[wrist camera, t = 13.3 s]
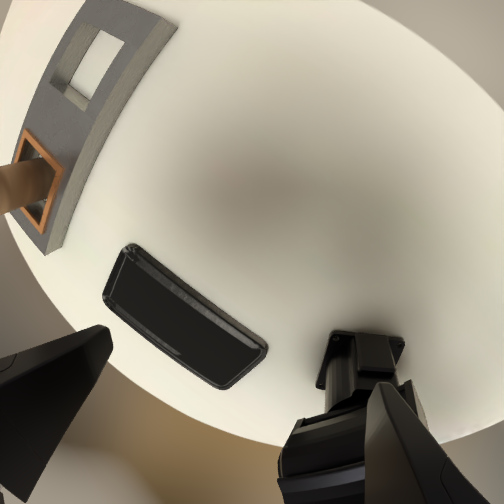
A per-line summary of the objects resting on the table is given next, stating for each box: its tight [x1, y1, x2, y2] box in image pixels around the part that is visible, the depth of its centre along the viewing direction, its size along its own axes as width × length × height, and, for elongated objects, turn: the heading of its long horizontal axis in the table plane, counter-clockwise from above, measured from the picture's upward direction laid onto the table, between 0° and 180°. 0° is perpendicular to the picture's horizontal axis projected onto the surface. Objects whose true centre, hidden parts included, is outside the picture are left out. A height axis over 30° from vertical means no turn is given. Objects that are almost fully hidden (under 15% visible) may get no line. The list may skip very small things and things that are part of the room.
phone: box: [102, 244, 268, 390], centre depth 25 cm, size 8×1×15 cm
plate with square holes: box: [10, 0, 177, 256], centre depth 19 cm, size 23×9×3 cm, turn 142°
